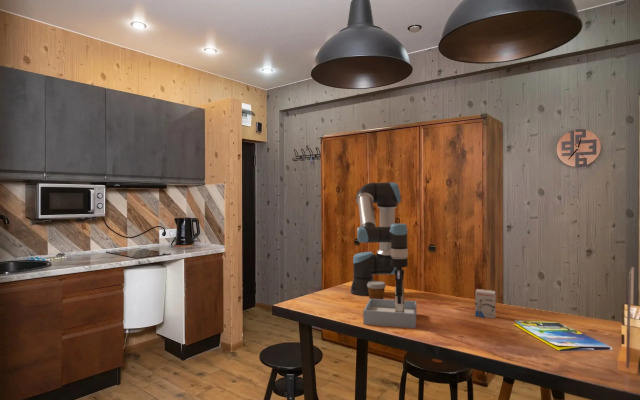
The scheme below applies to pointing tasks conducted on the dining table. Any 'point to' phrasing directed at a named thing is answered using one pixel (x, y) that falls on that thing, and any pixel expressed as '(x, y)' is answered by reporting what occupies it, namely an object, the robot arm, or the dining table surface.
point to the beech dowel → (403, 300)
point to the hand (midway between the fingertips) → (399, 309)
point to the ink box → (485, 303)
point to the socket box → (389, 313)
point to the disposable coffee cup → (376, 289)
